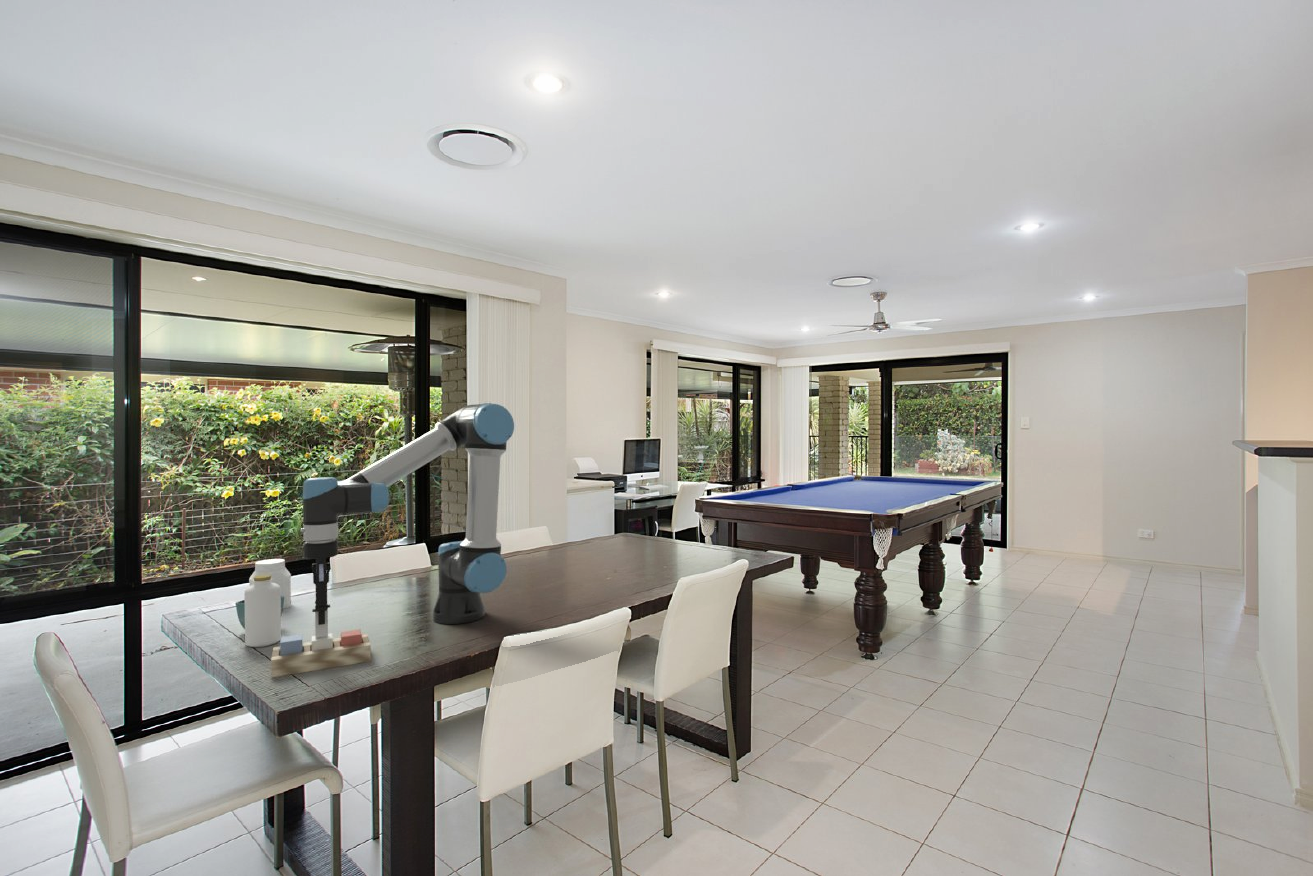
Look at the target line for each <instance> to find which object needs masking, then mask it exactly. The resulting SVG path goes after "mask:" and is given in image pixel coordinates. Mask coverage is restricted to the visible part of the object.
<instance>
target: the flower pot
mask: <svg viewBox="0 0 1313 876" xmlns="http://www.w3.org/2000/svg"><path fill="white" fill-rule="evenodd" d="M284 597H285V596H281V616H282V615H283V612H284V611H283V610H284V609H283V605H284ZM235 608H236V614H237V618H238V621H239V624H240V626H241V627H242V628H243V629H244V630H245V601H244V599H243V600H240V601H236V602H235Z"/></svg>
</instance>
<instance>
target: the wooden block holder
mask: <svg viewBox="0 0 1313 876" xmlns="http://www.w3.org/2000/svg"><path fill="white" fill-rule="evenodd" d="M361 634H362V633H361ZM302 643H303V652H302V653H295V654H288V655H282V656H280V646H279V645H278V646H274V647H273V649H272V652H271V653H272V654H271V658H270V659H271V660H270V669H271V670H270V672H271V673H270V677H271V678H276V677H282V676H289V675H294V674H301V673H307V672H313V671H319V670H325V669H326V670H327V669H331V668H337V667H342V666H350V665H356V664H363V663H367V662H371V661H372V660H371V659H372V654H371V653H372V651H371V650H372V649H371V647H372V646H371V642H370V638H369V635H368V633H364V634H362V643H361V644H355V645H348V646H341V637H336V638H335V637H334V638H333V648H328V649H322V650H315V651H312V641H309V642H308V641H307V642H302Z"/></svg>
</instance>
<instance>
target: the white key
mask: <svg viewBox="0 0 1313 876" xmlns="http://www.w3.org/2000/svg"><path fill="white" fill-rule="evenodd" d="M333 639H334V638H333V633H332V632H331V633H328V636H327V637H320V638H316V637H315V635H311V642H312V651H315V650H322V649H328V648H333Z"/></svg>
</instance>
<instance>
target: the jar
mask: <svg viewBox="0 0 1313 876" xmlns="http://www.w3.org/2000/svg"><path fill="white" fill-rule="evenodd" d="M254 567H255V568H254V571H253V572H252V574H250V577H249V579H248V582H249V587H250V586H251V585H253V584H254V583H253V580H254V577H255V576H259V575H271V578H272V581H271V582H272V583H275V584H278V585H279V586H280V589H281V596H285V597H284V605H283V610H285V609H288V608H290V607H291V606H292V597H291V596H292V590H291V589H292V587H291V584H292V583H291V581H292V580H291V577H292V573H290V571H289V570H288V569H287V567H286V561H285V559H283V558H271V559H270V558H269V559H263V560H258V561H256V562H255V563H254Z"/></svg>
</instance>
